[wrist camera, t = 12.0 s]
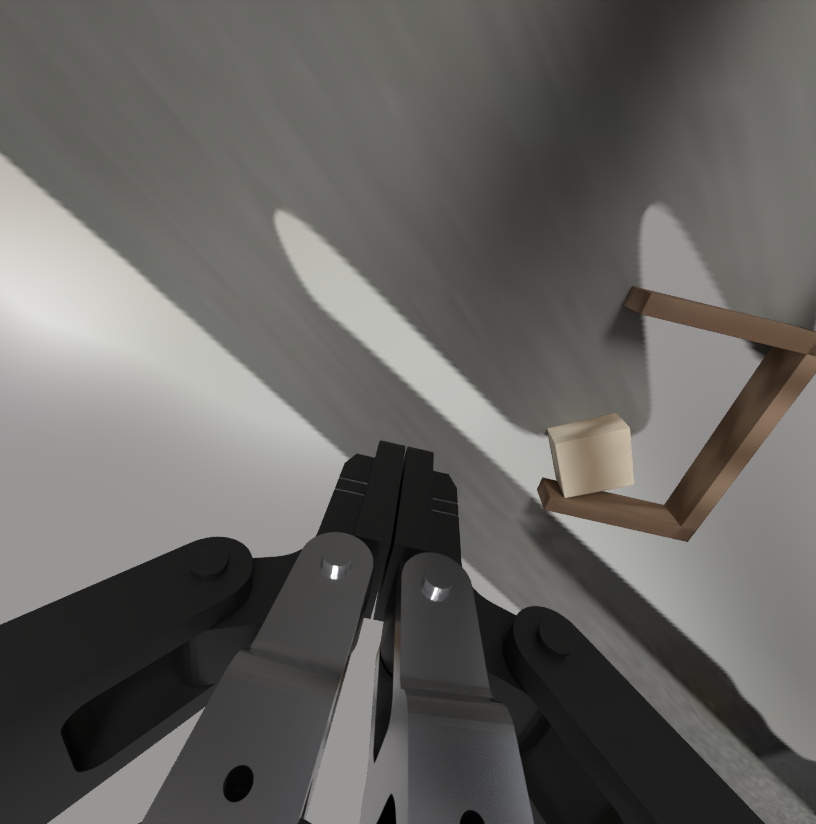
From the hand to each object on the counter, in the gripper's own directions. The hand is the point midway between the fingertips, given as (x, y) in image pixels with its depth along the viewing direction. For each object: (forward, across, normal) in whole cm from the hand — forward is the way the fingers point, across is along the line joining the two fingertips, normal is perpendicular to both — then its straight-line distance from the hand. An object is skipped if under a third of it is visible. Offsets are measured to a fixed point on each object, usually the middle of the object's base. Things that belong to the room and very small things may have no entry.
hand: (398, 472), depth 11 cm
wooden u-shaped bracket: (+23, -22, +5) cm, 32 cm away
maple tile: (+23, -18, +9) cm, 31 cm away
